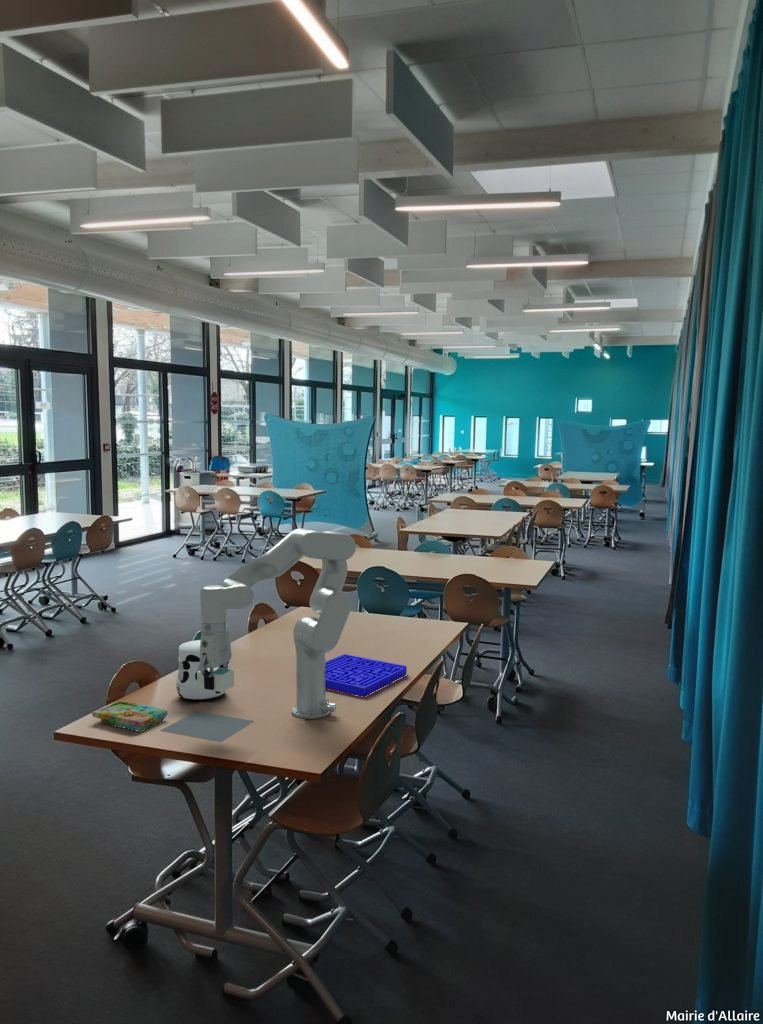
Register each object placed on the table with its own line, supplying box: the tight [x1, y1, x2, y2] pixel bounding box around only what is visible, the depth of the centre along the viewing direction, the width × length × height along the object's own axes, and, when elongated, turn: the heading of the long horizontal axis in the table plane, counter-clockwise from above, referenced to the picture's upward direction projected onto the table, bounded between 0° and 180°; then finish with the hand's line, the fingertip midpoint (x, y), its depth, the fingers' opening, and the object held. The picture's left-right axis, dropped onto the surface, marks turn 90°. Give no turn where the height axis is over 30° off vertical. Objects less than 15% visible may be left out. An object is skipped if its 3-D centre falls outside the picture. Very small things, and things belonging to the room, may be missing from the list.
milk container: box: [175, 639, 227, 702], centre depth 259 cm, size 17×17×18 cm
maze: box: [325, 653, 407, 698], centre depth 279 cm, size 30×30×4 cm
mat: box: [160, 710, 255, 743], centre depth 231 cm, size 22×18×1 cm
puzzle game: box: [91, 700, 168, 732], centre depth 235 cm, size 12×5×20 cm
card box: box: [197, 667, 235, 692], centre depth 225 cm, size 9×6×5 cm, turn 67°
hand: (215, 685), depth 225 cm, fingers closed on card box, 6 cm apart
